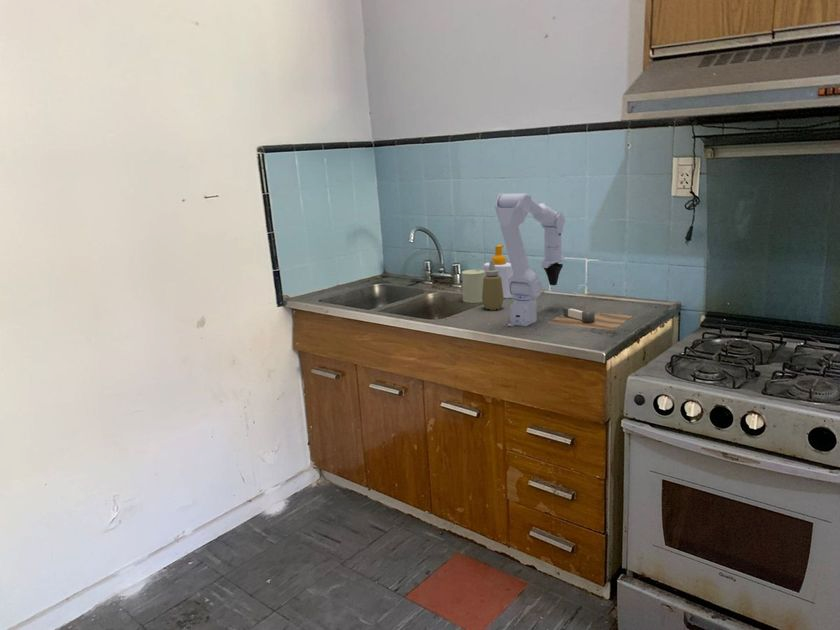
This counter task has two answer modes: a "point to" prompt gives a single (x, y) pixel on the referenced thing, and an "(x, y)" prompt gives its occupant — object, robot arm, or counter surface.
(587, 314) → the peg
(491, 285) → the squeeze bottle
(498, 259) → the soap bottle
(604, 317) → the board
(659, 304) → the counter surface
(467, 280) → the can
